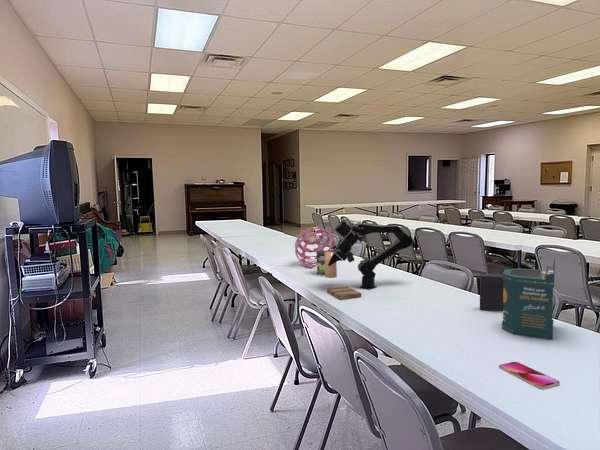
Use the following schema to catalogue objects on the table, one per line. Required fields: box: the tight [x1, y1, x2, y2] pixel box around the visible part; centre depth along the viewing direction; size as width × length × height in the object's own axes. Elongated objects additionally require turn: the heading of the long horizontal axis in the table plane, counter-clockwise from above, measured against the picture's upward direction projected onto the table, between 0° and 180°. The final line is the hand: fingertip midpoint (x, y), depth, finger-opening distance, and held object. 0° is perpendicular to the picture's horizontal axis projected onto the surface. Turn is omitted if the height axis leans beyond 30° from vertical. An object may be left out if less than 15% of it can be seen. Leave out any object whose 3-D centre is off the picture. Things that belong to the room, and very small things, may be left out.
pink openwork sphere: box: [294, 226, 338, 269], centre depth 277 cm, size 28×28×27 cm
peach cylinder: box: [324, 250, 338, 279], centre depth 216 cm, size 6×6×13 cm
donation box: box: [501, 252, 556, 341], centre depth 150 cm, size 16×16×28 cm
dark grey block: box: [479, 273, 504, 313], centre depth 174 cm, size 11×4×15 cm, turn 71°
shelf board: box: [326, 285, 362, 301], centre depth 206 cm, size 16×11×2 cm
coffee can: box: [315, 250, 327, 277], centre depth 253 cm, size 10×10×14 cm
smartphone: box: [498, 361, 561, 390], centre depth 117 cm, size 7×1×15 cm
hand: (327, 264), depth 216 cm, fingers closed on peach cylinder, 6 cm apart
